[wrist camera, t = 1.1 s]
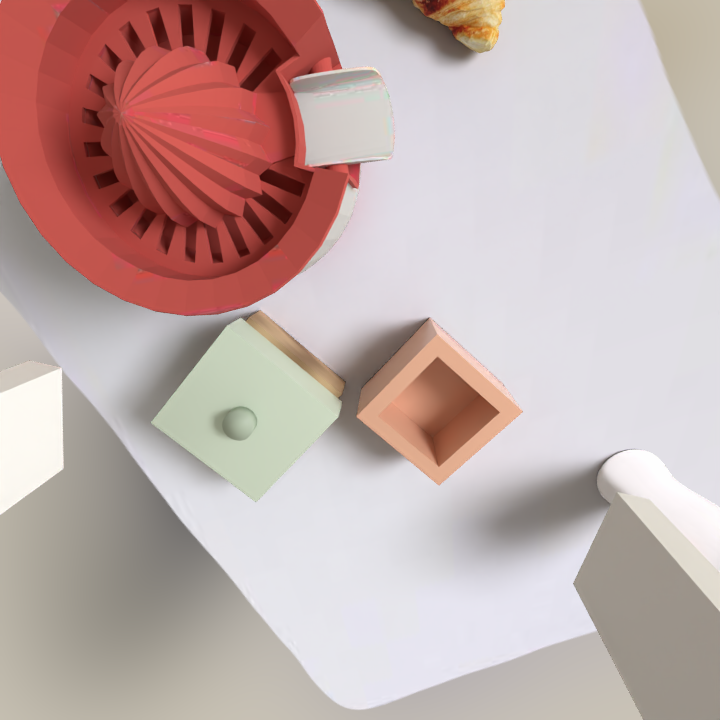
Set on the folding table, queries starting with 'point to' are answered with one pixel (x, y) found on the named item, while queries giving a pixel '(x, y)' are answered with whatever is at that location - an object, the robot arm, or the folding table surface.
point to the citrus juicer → (185, 142)
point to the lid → (247, 410)
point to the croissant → (467, 20)
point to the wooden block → (297, 352)
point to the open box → (435, 403)
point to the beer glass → (664, 497)
